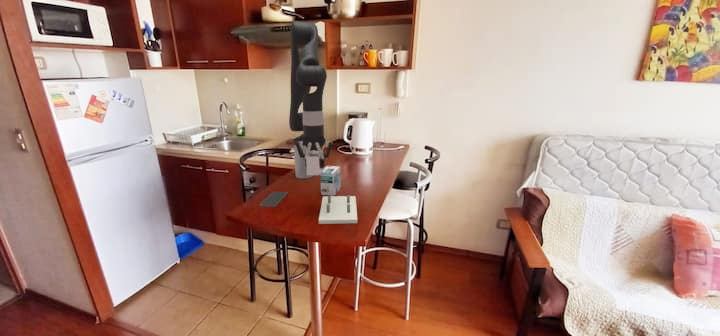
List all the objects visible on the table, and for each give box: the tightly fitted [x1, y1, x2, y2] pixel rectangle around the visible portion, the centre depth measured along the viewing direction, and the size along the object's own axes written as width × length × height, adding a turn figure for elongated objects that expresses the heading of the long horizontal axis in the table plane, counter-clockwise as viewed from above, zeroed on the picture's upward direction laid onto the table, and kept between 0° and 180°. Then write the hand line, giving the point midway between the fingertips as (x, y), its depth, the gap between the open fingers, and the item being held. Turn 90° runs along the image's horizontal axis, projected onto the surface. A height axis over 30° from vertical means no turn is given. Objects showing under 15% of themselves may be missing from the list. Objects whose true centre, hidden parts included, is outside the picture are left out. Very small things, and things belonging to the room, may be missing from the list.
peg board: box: [318, 194, 358, 225], centre depth 120 cm, size 22×14×4 cm, turn 3°
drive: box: [306, 150, 323, 176], centre depth 115 cm, size 12×5×7 cm, turn 1°
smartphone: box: [258, 191, 289, 208], centre depth 131 cm, size 7×1×15 cm
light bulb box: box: [319, 165, 342, 196], centre depth 139 cm, size 11×7×11 cm, turn 168°
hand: (315, 167), depth 116 cm, fingers closed on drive, 4 cm apart
